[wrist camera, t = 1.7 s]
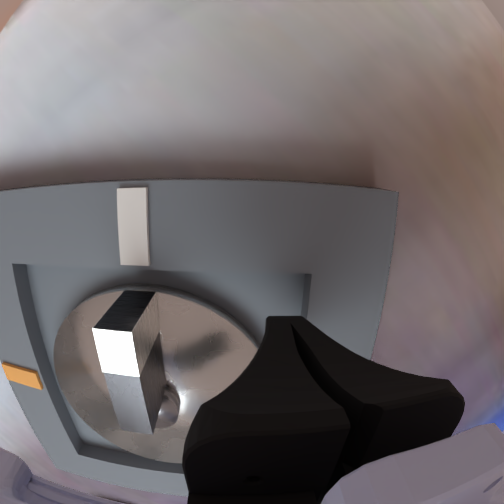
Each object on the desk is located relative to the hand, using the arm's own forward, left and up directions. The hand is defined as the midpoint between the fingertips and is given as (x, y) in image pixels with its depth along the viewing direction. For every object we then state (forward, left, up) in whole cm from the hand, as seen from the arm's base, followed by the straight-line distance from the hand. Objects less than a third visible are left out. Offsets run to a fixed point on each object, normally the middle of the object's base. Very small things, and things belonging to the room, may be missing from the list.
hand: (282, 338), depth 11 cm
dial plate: (-5, +6, -4) cm, 8 cm away
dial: (-5, +6, -3) cm, 8 cm away
